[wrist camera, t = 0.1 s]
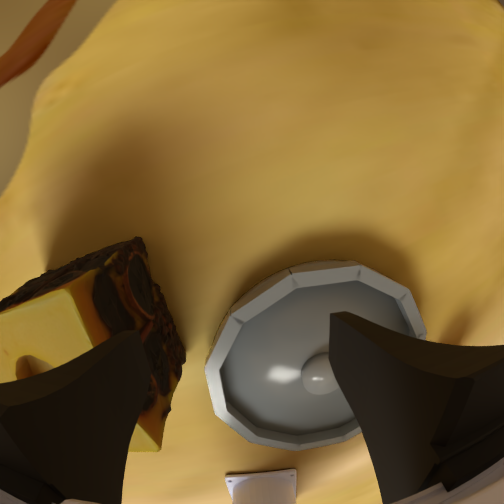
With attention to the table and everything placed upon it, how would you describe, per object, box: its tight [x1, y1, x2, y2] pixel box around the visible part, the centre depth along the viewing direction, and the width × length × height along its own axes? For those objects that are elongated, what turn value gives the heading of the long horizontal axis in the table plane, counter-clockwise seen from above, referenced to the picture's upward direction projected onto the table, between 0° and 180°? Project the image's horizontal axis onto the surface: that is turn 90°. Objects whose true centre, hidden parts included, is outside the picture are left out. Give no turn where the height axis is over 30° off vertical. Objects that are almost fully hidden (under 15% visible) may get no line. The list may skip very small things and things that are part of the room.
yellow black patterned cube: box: [0, 236, 186, 452], centre depth 16 cm, size 10×10×10 cm
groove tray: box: [205, 260, 427, 451], centre depth 21 cm, size 18×18×2 cm
